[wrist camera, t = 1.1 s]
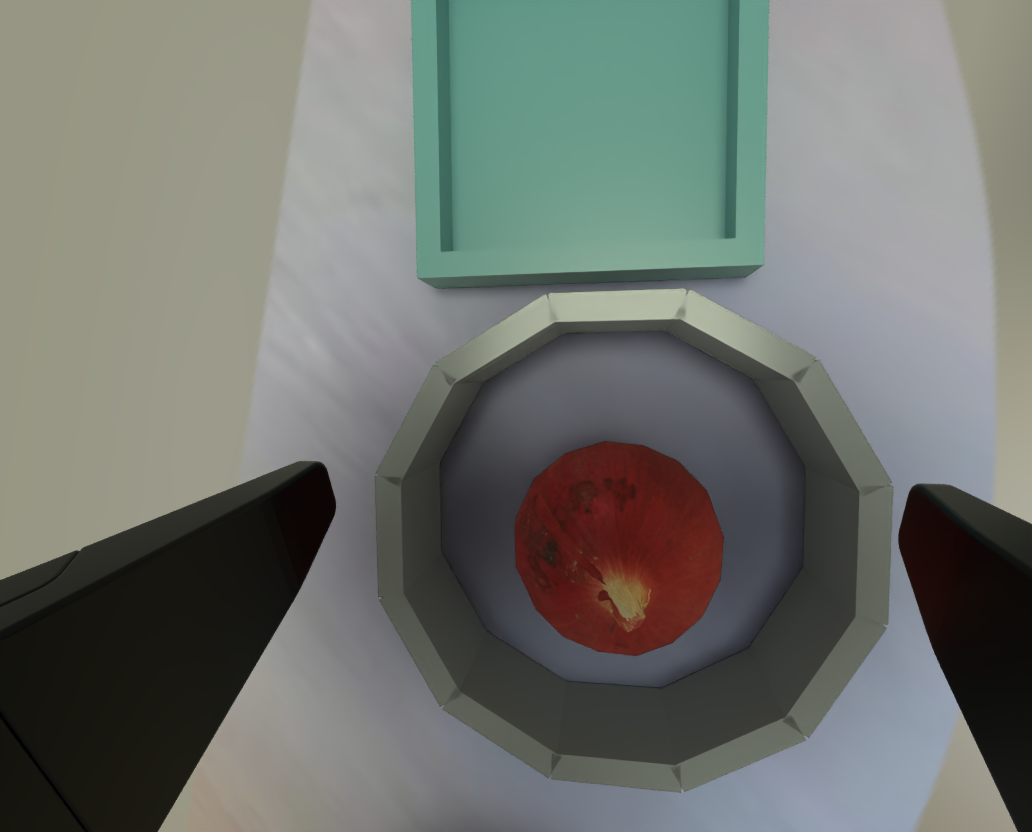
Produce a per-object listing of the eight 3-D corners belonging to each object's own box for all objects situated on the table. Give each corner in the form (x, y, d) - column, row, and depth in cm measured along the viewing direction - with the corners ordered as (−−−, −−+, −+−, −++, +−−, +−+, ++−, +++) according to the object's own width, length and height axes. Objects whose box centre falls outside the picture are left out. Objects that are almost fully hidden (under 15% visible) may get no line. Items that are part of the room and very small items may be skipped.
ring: (824, 723, 19) (881, 813, 15) (423, 690, 21) (382, 762, 17) (836, 302, 18) (900, 281, 14) (415, 314, 20) (369, 298, 16)
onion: (506, 548, 20) (445, 655, 13) (570, 404, 20) (548, 422, 12) (655, 619, 20) (689, 781, 12) (727, 473, 19) (814, 541, 11)
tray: (745, 277, 19) (763, 264, 16) (436, 288, 20) (417, 278, 18) (752, -75, 18) (771, -135, 16) (430, -34, 19) (409, -82, 17)
